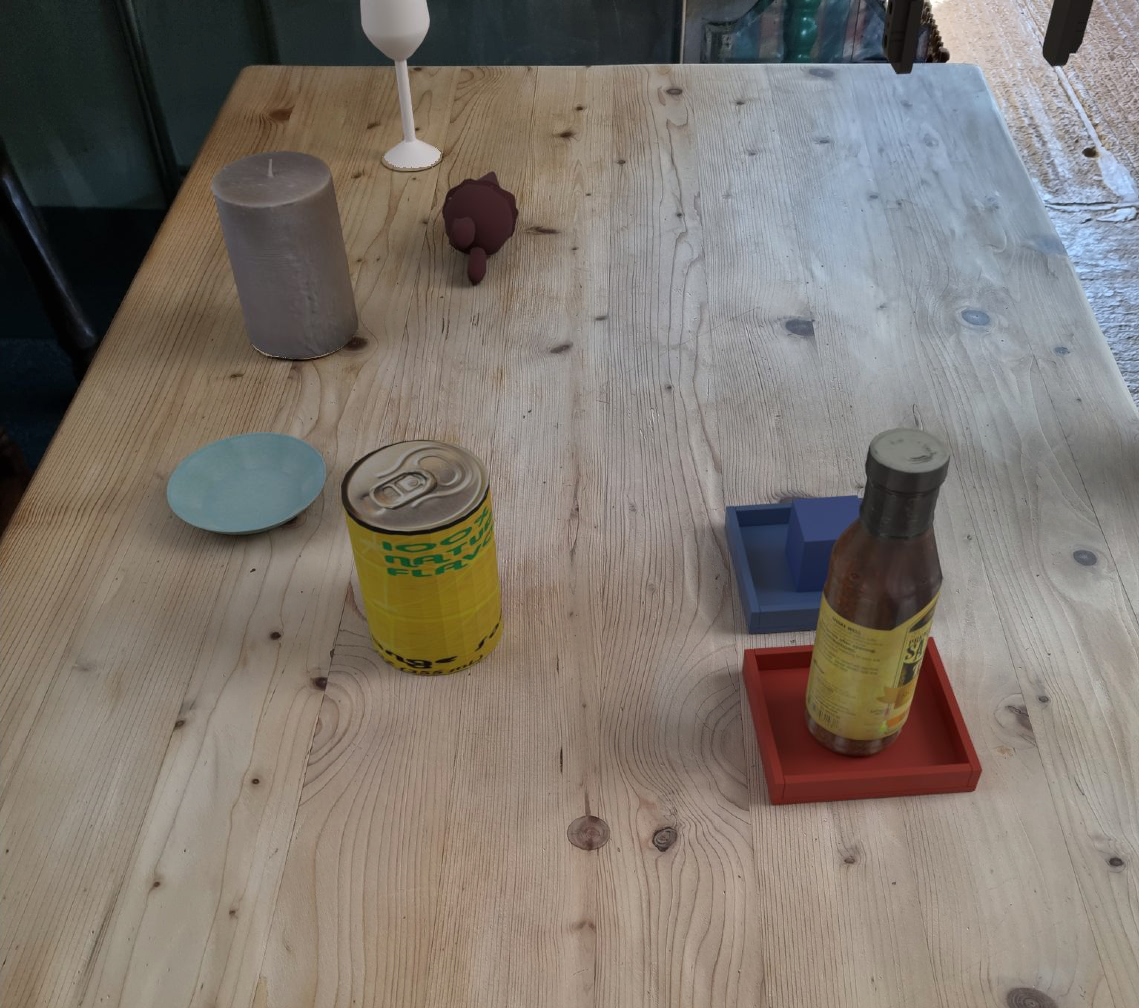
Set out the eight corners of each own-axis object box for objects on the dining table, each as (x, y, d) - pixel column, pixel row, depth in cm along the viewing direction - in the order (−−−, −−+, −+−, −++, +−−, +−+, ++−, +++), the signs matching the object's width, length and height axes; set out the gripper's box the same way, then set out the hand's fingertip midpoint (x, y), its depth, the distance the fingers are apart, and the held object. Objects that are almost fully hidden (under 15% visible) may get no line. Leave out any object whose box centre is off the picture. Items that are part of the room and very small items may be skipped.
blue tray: (889, 517, 89) (894, 495, 87) (929, 622, 82) (935, 600, 80) (724, 528, 89) (726, 505, 87) (748, 634, 81) (751, 612, 80)
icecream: (444, 146, 117) (413, 235, 108) (516, 129, 114) (490, 218, 106) (469, 213, 122) (441, 303, 113) (539, 198, 120) (515, 288, 111)
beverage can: (530, 625, 82) (520, 480, 73) (430, 696, 78) (406, 552, 69) (443, 566, 87) (422, 422, 78) (344, 630, 83) (310, 486, 74)
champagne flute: (451, 146, 131) (425, -120, 113) (433, 174, 127) (402, -98, 109) (392, 142, 132) (357, -123, 114) (372, 169, 128) (332, -101, 110)
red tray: (926, 658, 79) (933, 636, 78) (975, 791, 72) (982, 769, 71) (741, 670, 79) (744, 648, 78) (771, 805, 72) (774, 784, 70)
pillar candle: (329, 293, 112) (297, 123, 100) (378, 339, 106) (350, 165, 95) (231, 326, 109) (186, 154, 97) (276, 375, 103) (234, 199, 92)
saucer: (326, 548, 88) (321, 523, 87) (163, 559, 88) (154, 534, 86) (335, 451, 96) (330, 427, 94) (185, 461, 96) (177, 437, 94)
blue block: (847, 545, 86) (857, 494, 83) (861, 588, 83) (872, 536, 80) (784, 550, 86) (791, 498, 83) (796, 592, 83) (804, 541, 80)
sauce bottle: (903, 767, 73) (978, 500, 58) (798, 755, 74) (845, 488, 59) (903, 689, 77) (974, 420, 62) (804, 678, 78) (850, 410, 63)
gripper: (923, -302, 52) (863, 100, 64) (1252, -319, 52) (1129, 85, 65) (882, -334, 57) (834, 46, 69) (1183, -349, 57) (1081, 32, 69)
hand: (977, 65), depth 67 cm, fingers open, 8 cm apart
